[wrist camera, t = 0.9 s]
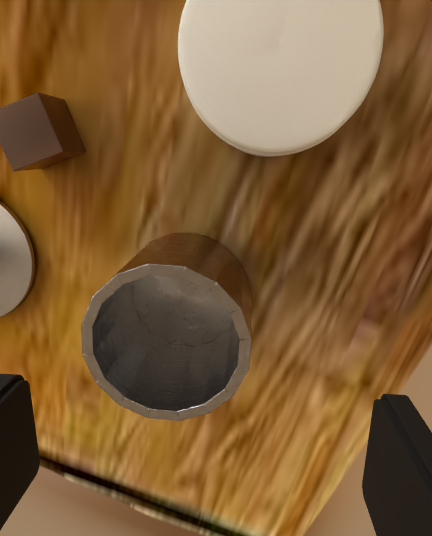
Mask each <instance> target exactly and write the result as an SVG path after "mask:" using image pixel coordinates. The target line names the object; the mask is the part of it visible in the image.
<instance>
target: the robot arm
mask: <svg viewBox="0 0 432 536" xmlns="http://www.w3.org/2000/svg"><path fill="white" fill-rule="evenodd" d="M39 464H40V459H39V451H38V444H37V437H36V429H35V422H34V415H33V407H32V400H31V393H30V386H29V383H28V381H25V380H24V378H23V377H22V376H21V375H14V374H0V530H1V528H2V527H3V525H4V524H5V522H6V521H7V519H8V517H9V516H10V514H11V513H12V511H13V510H14V508H15V507H16V505H17V504H18V502H19V500H20V499H21V498H22V496H23V494H24V493H25V491H26V490H27V488H28V487H29V485H30V484H31V482H32V481H33V479H34V477H35V476H36V474H37V472H38V469H39ZM362 488H363V495H364V500H365V503H366V505H367V508H368V511H369V514H370V517H371V520H372V523H373V526H374V529H375V532H376V535H377V536H432V432H431V431H430V429H429V428H428V426H427V425H426V423H425V422H424V420H423V419H422V417H421V416H420V414H419V412H418V411H417V409H416V408H415V406H414V405H413V403H412V402H411V400H410V399H409V397H408V396H406V395H394V394H383V395H382V397H381V400H380V399H376V400H375V401H374V404H373V411H372V418H371V425H370V432H369V439H368V447H367V454H366V460H365V468H364V475H363V482H362Z"/></svg>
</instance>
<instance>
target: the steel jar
mask: <svg viewBox="0 0 432 536" xmlns="http://www.w3.org/2000/svg"><path fill="white" fill-rule="evenodd" d="M81 331H82V354H83V357H84V359H85V361H86V363H87V365H88V368H89V370H90V372H91V374H92V376H93V378H94V380H95V382H96V384H97V385H98V386H99V387H101V388H102V389H103V390H104V391H105V392H106V393H107V394H108V395H109V396H110V397H111V398H112V399H113V400H114V401H115V402H116V403H117V404H119V405H120V406H123V407H125V408H127V409H129V410H131V411H134V412H136V413H138V414H140V415H142V416H144V417H148V418H154V419H164V420H175V421H180V420H184V419H188V418H192V417H196V416H200V415H204V414H208V413H210V412H212V411H213V410H214V409H216V408H217V407H218V406H220V405H221V404H223V403H224V402H225V401H227V400H228V399H229V398H231V397H232V396H233V395H234V394H235V392H236V391H237V389H238V387H239V385H240V384H241V382H242V380H243V379H244V377H245V375H246V373H247V372H248V370H249V363H250V351H251V340H252V335H251V290H250V286H249V283H248V280H247V276H246V274H245V271H244V269H243V266H242V265H241V264H240V262H239V261H238V259H237V258H236V257H235V255H234V254H233V253H232V252H231V251H230V250H229V249H227V248H226V247H225V246H223V245H222V244H221V243H219V242H217V241H215V240H213V239H211V238H209V237H206V236H203V235H199V234H193V233H176V234H171V235H167V236H164V237H161V238H159V239H156V240H154V241H151V242H150V243H149V244H148V245H147V246H146V247H145V248H143V249H142V250H141V251H140V252H139V253H138V254H137V255H136V256H135V257H133V258H132V259H131V260H130V261H129V262H128V263H127V264H126V265H125V266H124V267H123V268H122V269H121V270H120V271H119V272H117V273H116V274H115V275H114V276H113V277H112V278H111V279H110V280H109V281H108V282H107V283H106V284H105V285H104V286H103V287H101V288H100V289H99V290H98V291H97V292H96V293H95V294H94V295H93V297H92V299H91V301H90V304H89V306H88V308H87V311H86V313H85V316H84V318H83V321H82V324H81Z"/></svg>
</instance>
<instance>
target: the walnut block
mask: <svg viewBox="0 0 432 536" xmlns="http://www.w3.org/2000/svg"><path fill="white" fill-rule="evenodd" d="M0 144H1V146H2V148H3V150H4V153H5V155H6V157H7V159H8V161H9V163H10V166H11V168H12V170H13V171H21V170H32V169H42V168H44V167H47V166H50V165H52V164H55V163H57V162H60V161H63V160H65V159H68V158H70V157H73V156H76V155H78V154H81V153H83V152H85V149H84V147H83V144H82V142H81V139H80V137H79V134H78V132H77V130H76V127H75V125H74V122H73V120H72V118H71V115H70V113H69V110H68V108H67V105H66V103H65V101H64V100H63V99H60V98H56V97H53V96H49V95H45V94H42V93H38V92H37V93H35V94H32V95H30V96H28V97H25V98H23V99H21V100H18V101H16V102H13V103H11V104H9V105H6V106H4V107H2V108H0Z"/></svg>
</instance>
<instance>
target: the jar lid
mask: <svg viewBox="0 0 432 536" xmlns="http://www.w3.org/2000/svg"><path fill="white" fill-rule="evenodd" d="M34 272H35V258H34V251H33V247H32V244H31V241H30V238H29V236H28V234H27V232H26V230H25V228H24V226H23V225H22V223H21V222H20V220H19V219H18V217H17V216H16V215H15V214H14V213H13V212H12V211H11V210H10V209H9V208H8V207H7V206H6V205H5V204H4V203H2V202H1V201H0V317H1V316H4V315H5V314H7V313H9V312H10V311H12V310H13V309H15V308H16V307H17V306H18V305H19V304H20V303H21V302H22V301H23V300H24V299H25V297H26V295H27V294H28V292H29V290H30V288H31V285H32V282H33V278H34Z"/></svg>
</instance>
